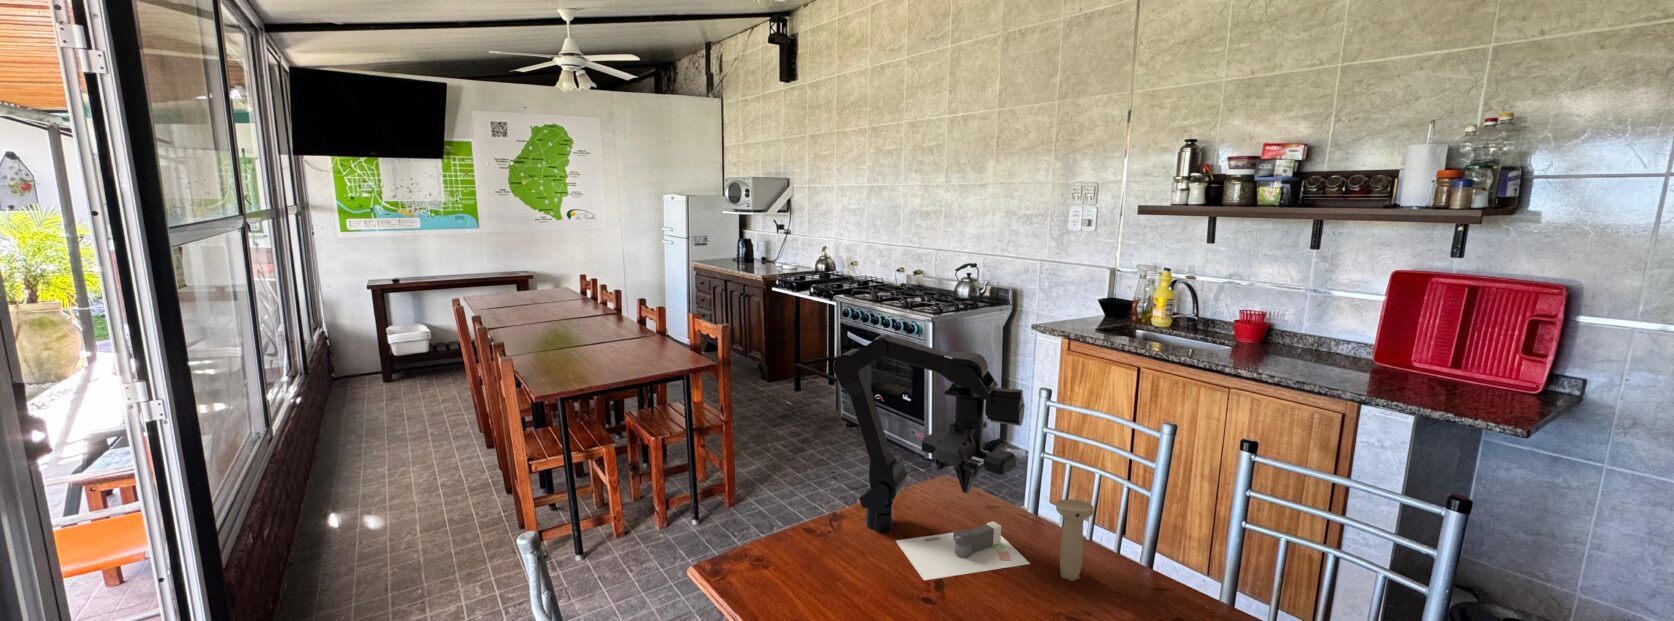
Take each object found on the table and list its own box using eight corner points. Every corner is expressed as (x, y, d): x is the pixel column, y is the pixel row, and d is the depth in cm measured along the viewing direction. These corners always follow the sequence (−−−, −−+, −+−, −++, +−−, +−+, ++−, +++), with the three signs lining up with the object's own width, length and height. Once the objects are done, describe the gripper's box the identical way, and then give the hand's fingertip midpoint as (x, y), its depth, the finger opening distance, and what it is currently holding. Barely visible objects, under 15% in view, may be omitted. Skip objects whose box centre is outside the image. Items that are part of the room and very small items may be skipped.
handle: (1090, 588, 126) (1096, 512, 124) (1054, 586, 127) (1059, 510, 124) (1083, 574, 131) (1089, 500, 128) (1049, 572, 131) (1054, 498, 129)
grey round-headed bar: (962, 560, 133) (963, 542, 132) (948, 551, 136) (949, 533, 136) (1003, 545, 139) (1004, 527, 138) (989, 536, 142) (990, 519, 141)
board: (895, 545, 141) (895, 539, 141) (992, 531, 147) (992, 526, 147) (923, 585, 127) (923, 579, 127) (1029, 568, 133) (1030, 562, 133)
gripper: (906, 417, 136) (904, 491, 139) (990, 440, 124) (986, 521, 126) (937, 404, 144) (935, 474, 147) (1019, 425, 132) (1015, 501, 134)
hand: (965, 492), depth 138 cm, fingers closed
